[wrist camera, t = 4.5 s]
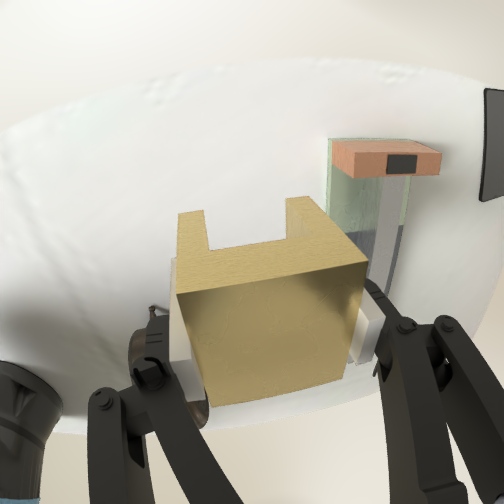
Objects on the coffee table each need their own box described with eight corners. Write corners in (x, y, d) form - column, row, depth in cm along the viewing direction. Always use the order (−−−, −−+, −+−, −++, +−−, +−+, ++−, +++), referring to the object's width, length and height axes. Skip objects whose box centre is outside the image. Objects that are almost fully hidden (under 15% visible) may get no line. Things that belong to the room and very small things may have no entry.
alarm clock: (132, 300, 29) (114, 450, 16) (182, 289, 29) (188, 445, 16) (168, 364, 35) (173, 487, 22) (210, 356, 35) (228, 481, 22)
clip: (304, 302, 19) (341, 378, 14) (201, 321, 18) (211, 407, 13) (308, 196, 15) (368, 260, 10) (178, 213, 14) (175, 294, 9)
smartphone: (512, 91, 23) (507, 195, 31) (507, 90, 23) (502, 192, 31) (485, 88, 22) (481, 203, 30) (480, 87, 23) (476, 200, 31)
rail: (373, 331, 39) (389, 356, 35) (313, 346, 38) (326, 375, 34) (409, 139, 25) (442, 153, 21) (328, 139, 24) (355, 152, 20)
